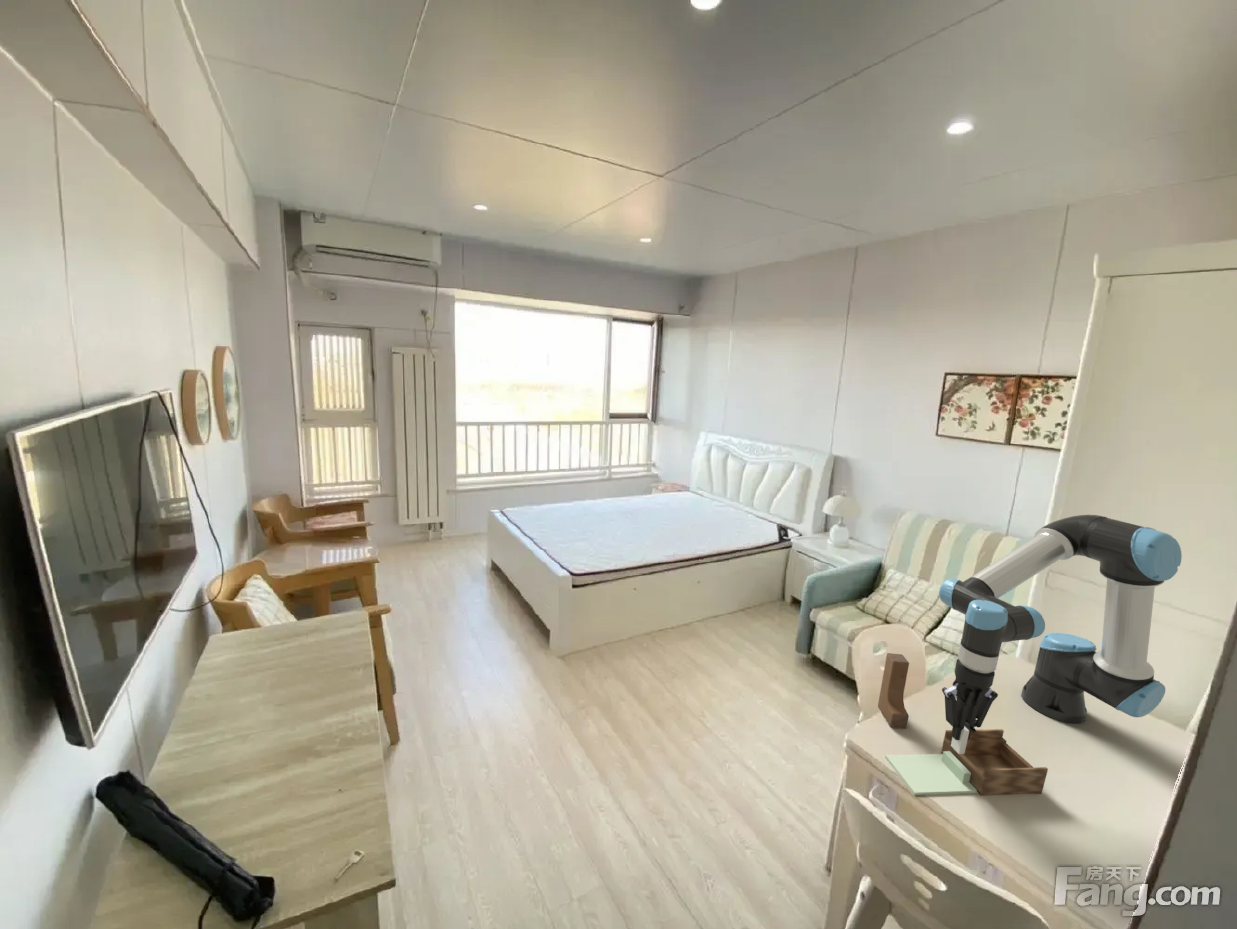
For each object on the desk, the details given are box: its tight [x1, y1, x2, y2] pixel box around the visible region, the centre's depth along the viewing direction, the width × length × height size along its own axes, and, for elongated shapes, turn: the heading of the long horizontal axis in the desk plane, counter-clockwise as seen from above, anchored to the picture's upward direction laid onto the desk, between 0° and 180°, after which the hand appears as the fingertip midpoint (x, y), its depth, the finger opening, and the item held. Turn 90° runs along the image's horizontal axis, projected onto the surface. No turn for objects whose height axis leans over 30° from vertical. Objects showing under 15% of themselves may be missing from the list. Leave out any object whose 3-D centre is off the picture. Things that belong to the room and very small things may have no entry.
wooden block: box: [877, 652, 910, 730], centre depth 141 cm, size 9×4×18 cm, turn 174°
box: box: [940, 728, 1049, 796], centre depth 124 cm, size 16×13×7 cm
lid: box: [884, 751, 978, 796], centre depth 123 cm, size 16×11×4 cm
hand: (957, 749), depth 122 cm, fingers closed
